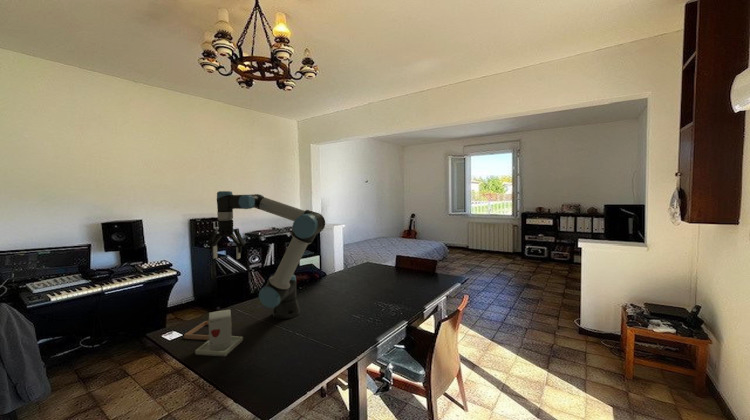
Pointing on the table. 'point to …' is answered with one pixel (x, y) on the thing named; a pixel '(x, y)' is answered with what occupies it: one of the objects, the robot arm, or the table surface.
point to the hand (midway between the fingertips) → (226, 258)
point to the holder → (190, 334)
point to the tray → (205, 350)
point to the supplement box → (220, 330)
